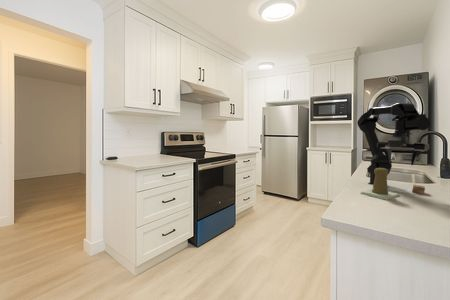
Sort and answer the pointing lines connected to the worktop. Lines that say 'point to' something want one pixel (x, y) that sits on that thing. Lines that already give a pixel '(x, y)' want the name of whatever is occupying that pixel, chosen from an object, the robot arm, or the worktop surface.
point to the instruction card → (400, 190)
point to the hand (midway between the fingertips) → (400, 163)
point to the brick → (418, 189)
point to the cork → (380, 181)
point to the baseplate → (381, 196)
